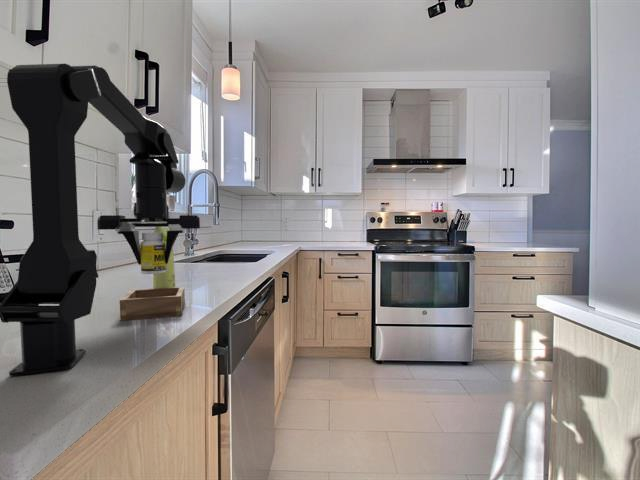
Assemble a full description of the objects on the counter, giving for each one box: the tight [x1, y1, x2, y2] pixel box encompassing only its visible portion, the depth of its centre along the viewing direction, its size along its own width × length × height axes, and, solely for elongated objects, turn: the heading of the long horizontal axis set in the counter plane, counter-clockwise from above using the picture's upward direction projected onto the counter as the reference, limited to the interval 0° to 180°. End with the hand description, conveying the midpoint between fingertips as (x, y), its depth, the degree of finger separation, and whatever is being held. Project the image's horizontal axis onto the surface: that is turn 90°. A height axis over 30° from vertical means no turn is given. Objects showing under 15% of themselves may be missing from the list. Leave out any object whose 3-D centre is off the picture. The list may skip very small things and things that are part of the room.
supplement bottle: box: [140, 232, 166, 275], centre depth 73 cm, size 5×5×8 cm
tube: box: [152, 227, 176, 289], centre depth 84 cm, size 6×5×20 cm
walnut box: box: [119, 286, 186, 322], centre depth 74 cm, size 11×11×4 cm
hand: (153, 263), depth 73 cm, fingers closed on supplement bottle, 5 cm apart
